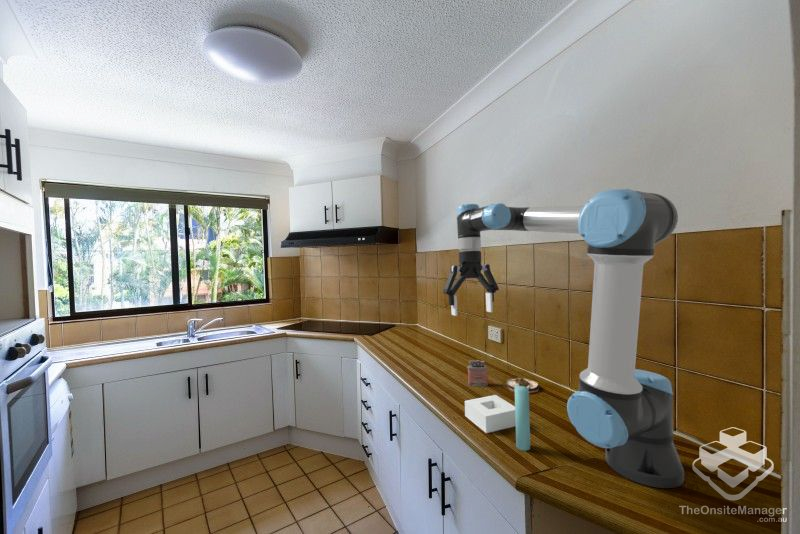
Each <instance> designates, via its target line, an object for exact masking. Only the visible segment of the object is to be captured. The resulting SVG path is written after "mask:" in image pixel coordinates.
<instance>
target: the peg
mask: <svg viewBox="0 0 800 534" xmlns="http://www.w3.org/2000/svg"><path fill="white" fill-rule="evenodd" d="M514 406H515V421H516V426H515V447H516V449H518V450H520V451H523V452H527V451H529V450H531V429H530V428H531V427H530V426H531V425H530V423H531V422H530V393H529V389H528V388H527V387H524V386H516V387H515V392H514Z"/></svg>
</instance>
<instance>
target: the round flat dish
mask: <svg viewBox="0 0 800 534" xmlns="http://www.w3.org/2000/svg"><path fill="white" fill-rule="evenodd" d="M505 384H506V389H508V391H509V392H512V393H515V387H516V386H524V387H527V388H528V389H529V394H535V393H538V392H539V391H540V384H539V383H538V382H537V381H535V380H531V379H529V378H528V379H527V378H524V377H523V378H522V377H516V378H508V379H506V382H505Z"/></svg>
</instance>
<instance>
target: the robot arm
mask: <svg viewBox="0 0 800 534" xmlns="http://www.w3.org/2000/svg"><path fill="white" fill-rule="evenodd" d="M678 221H679V215H678V210H677V208H676V205H675V204H674V203H673V202H672V200H670V199H669V198H667V197H666V196H663V195H661V194H659V193H654V192H653V193H652V192H644V191H639V190H634V189H630V188H616V189H615V188H614V189H613V188H612V189H607V190H603V191H601V192H598V193H596V194H595V195H593V196H592V197H591V198H590V199H589V200H588V201H587V202H586V203H585V204H584V205H568V206H567V205H564V206H531V207H530V206H529V207H527V206H526V207H521V206H520V207H515V206H507V205H506V204H505V203H502V202H499V203H491V204H489V205H486V206H482V207H480V206H479V204H477V203H466V204H461V205H459V206H458V207H457V208H456V224H457V225H456V227H457V243H458V247H457V248H458V250H459V252H458V263H459V265H451V266H450V273H449V275H448V276H447V277H448V278H447V279H446V283H445V285H444V287H443V290H442V293H443V294H444V295H447V296H448V305H449V306H450V310H451V311H450V312H451V316H455V317H457V316H458V297H457V295H455V294H457V291H458V290H459V289H460V287H461V285H462V284H463V282H464V281H465V280H466V279H477V280H478V281H479V283H480V284H481V286H482V287H483V288H484V289H485V290H486V291H487V292H485V306H486V307H485V308H486V309H485V310H486V311H485V312H488V313H494V311H493V310H494V309H493V307H494V305H493V303H494V301H495V295H494V294H496V292H497V291H499V290H500V288H499V286H498V284H497V281H496V279H495V277H494V275H493V274H492V271H491V266H490V264H489V263H485V264H482V261H483V260H482V251H480V250H481V249H482V240H481V232H485V231H519V232H541V233H545V232H546V233H561V234H562V233H564V234H579V235H580V236H581V237H582V239H583V240H584V241H585V242H586V243H587V250H586V251H587V252H586V253H587V256H588V257H589V258H590V259H591V260H592V261H593V263H594V267H593V281H592V282H593V285H592V298H591V299H592V301H591V313H590V318H591V319H590V328H589V329H590V331H589V332H590V333H589V345H588V346H589V347H588V360H587V362H588V363H587V368H585V369H583V370H582V371H581V372H579V378H578V379H579V380H578V390H577V391H575V392H573V394H571V396H569V398H568V400H567V404H566V410H567V416H568V418H569V421H570V422H571V424H572V426H573V427H574V429H576V431H577V432H578V434H579V435H580V436H581V437H582V438H583V439H584V440H586V441H587V442H589V443H590V444H592V445H594V446H596V447H599V448H602V449H603V448H604V449H605V451H604V452H605V461H606V463H607V465H608V466H609V467H610V468H611V469H612V470H613V471H615V472H616V473H617V474H618V475H620V476H622V477H623V478H626V479H628V480H630V481H632V482H635V483H638V484H640V485H643V486H648V487H651V488H652V487H653V488H657V489H658V488H659V489H673V488H674V489H675V488H677V487H680V486H682V485H683V483H684V481H685V470H684V466H683V464H682V461H681V460H680V456H679V454H678V451H677V449H676V447H675V443H674V415H673V409H674V405H673V402H674V401H673V396H674V392H673V388H672V382H671V381H670V380H669V378H668V377H666V376H664V375H662V374H659V373H656V372H651V371H648V370H644V369H637V368H636V364H637V363H636V360H637V349H638V347H637V346H638V338H639V337H638V336H639V335H638V334H639V325H640V323H639V322H640V313H641V299H642V287H643V273H644V265H645V263H647V262H648V261H650V260H651V259H653V258H654V255H655V254H654V253H655V245H656V244H659V243H662V242H663V241H664V240H666V239H668V238H669V237H670V236H671V235H672V233H673V232H674V231H675V229H676V228H677V225H678ZM482 272H483V273H482ZM458 273H459V275H458ZM457 275H458V276H457ZM456 277H457V278H456Z"/></svg>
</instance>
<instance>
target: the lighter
mask: <svg viewBox="0 0 800 534" xmlns="http://www.w3.org/2000/svg"><path fill="white" fill-rule="evenodd" d="M468 364H469V365H467V368H466V369H467V381H468V382H467V386H470V387H487V386H488V385H489V383H488V365H485V361H484V360H479V359H476V360H469V361H468Z"/></svg>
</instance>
